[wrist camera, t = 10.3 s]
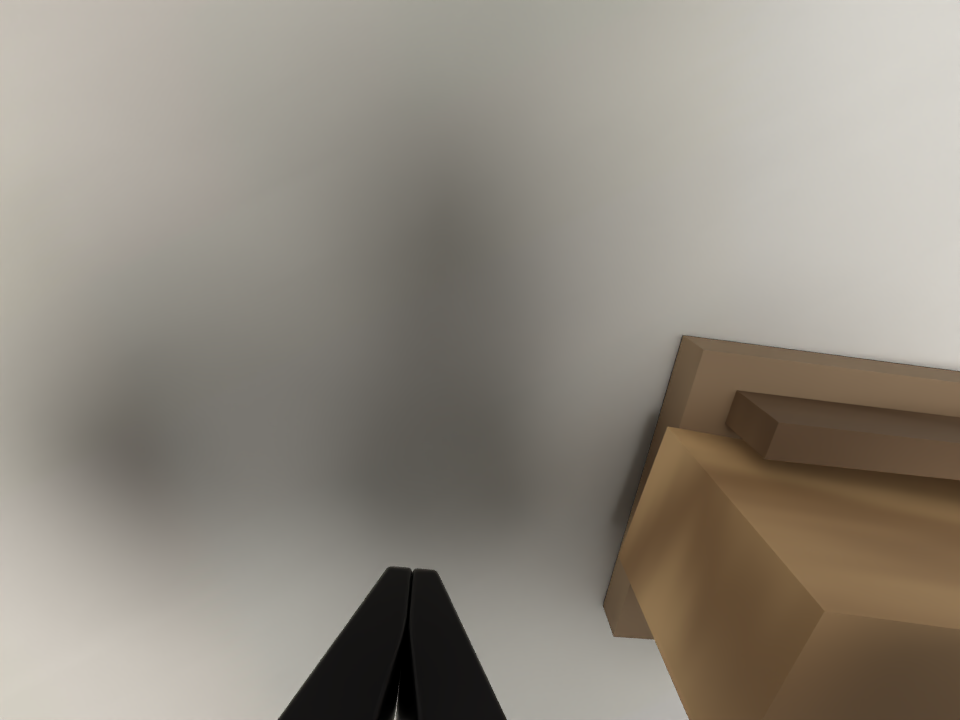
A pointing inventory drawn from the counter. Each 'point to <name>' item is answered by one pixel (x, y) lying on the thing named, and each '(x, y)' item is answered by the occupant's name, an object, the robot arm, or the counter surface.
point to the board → (802, 421)
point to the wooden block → (797, 585)
